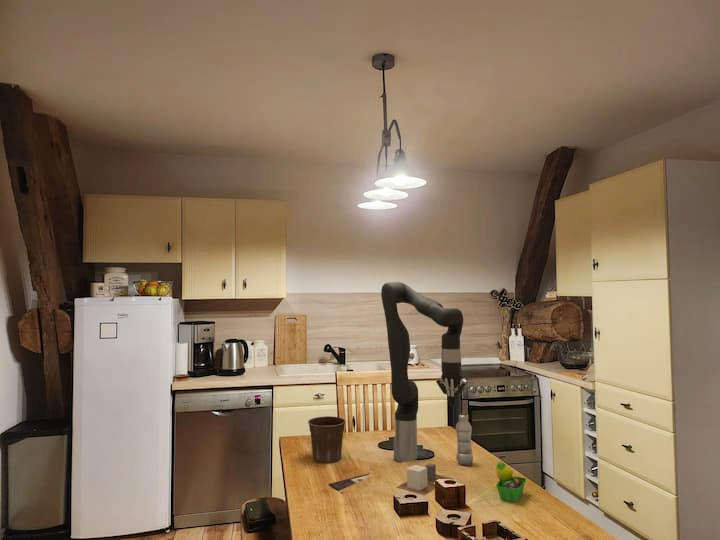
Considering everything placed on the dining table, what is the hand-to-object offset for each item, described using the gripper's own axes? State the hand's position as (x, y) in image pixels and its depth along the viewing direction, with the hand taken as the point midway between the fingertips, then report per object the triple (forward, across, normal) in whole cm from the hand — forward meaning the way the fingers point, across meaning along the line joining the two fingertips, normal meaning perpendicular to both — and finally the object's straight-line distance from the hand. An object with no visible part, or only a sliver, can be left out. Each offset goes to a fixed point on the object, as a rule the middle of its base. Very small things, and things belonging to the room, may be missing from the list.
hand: (452, 405), depth 196 cm
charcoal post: (+26, -4, -10) cm, 28 cm away
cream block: (+26, -4, -19) cm, 32 cm away
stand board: (+27, -4, -14) cm, 31 cm away
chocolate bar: (+28, -26, -27) cm, 47 cm away
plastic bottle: (+27, -4, +16) cm, 32 cm away
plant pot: (+27, -54, -13) cm, 62 cm away
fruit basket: (+27, +24, -4) cm, 37 cm away
